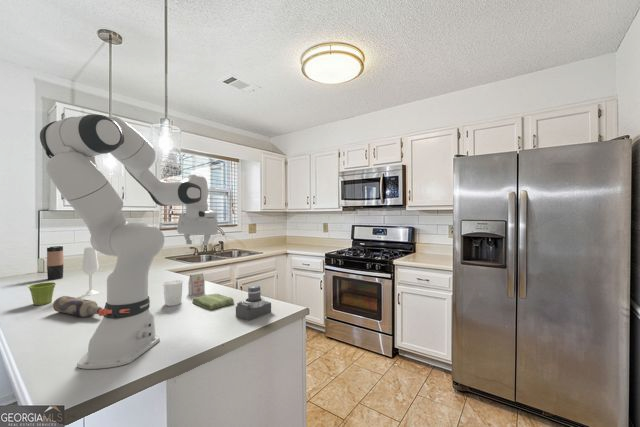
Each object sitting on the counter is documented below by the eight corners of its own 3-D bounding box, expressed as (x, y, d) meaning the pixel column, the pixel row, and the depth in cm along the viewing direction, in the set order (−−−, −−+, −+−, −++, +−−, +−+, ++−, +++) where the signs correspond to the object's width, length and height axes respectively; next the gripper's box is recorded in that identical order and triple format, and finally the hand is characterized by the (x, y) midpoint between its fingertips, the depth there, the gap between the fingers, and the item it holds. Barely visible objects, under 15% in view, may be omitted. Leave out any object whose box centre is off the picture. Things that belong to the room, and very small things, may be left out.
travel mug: (65, 278, 183) (65, 246, 183) (49, 280, 177) (49, 248, 176) (61, 276, 187) (60, 245, 187) (45, 279, 181) (44, 247, 180)
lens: (263, 303, 121) (263, 286, 121) (255, 307, 116) (254, 289, 116) (254, 301, 123) (253, 284, 123) (245, 305, 119) (245, 288, 119)
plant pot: (57, 303, 134) (57, 284, 134) (28, 308, 127) (28, 288, 127) (55, 299, 140) (55, 281, 140) (27, 303, 134) (27, 284, 133)
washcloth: (216, 297, 145) (216, 290, 145) (236, 304, 133) (235, 297, 133) (190, 303, 135) (190, 296, 135) (209, 312, 123) (209, 304, 123)
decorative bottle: (51, 314, 120) (51, 298, 120) (72, 308, 127) (72, 293, 127) (91, 322, 111) (91, 305, 111) (111, 316, 118) (111, 299, 118)
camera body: (248, 320, 113) (248, 305, 112) (235, 316, 118) (235, 300, 118) (271, 312, 122) (271, 297, 122) (258, 308, 127) (258, 294, 127)
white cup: (174, 307, 129) (174, 284, 129) (159, 305, 130) (159, 283, 130) (186, 301, 136) (186, 280, 136) (171, 300, 138) (171, 279, 138)
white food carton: (188, 294, 149) (188, 274, 149) (201, 291, 154) (201, 272, 154) (191, 295, 146) (191, 275, 146) (204, 292, 151) (204, 273, 151)
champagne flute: (102, 292, 152) (101, 246, 152) (90, 295, 146) (90, 248, 145) (90, 291, 153) (90, 246, 153) (78, 295, 146) (78, 248, 146)
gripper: (173, 212, 127) (173, 244, 127) (209, 213, 119) (209, 246, 119) (185, 212, 133) (185, 243, 133) (220, 213, 125) (220, 245, 125)
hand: (197, 244), depth 126 cm, fingers open, 8 cm apart
